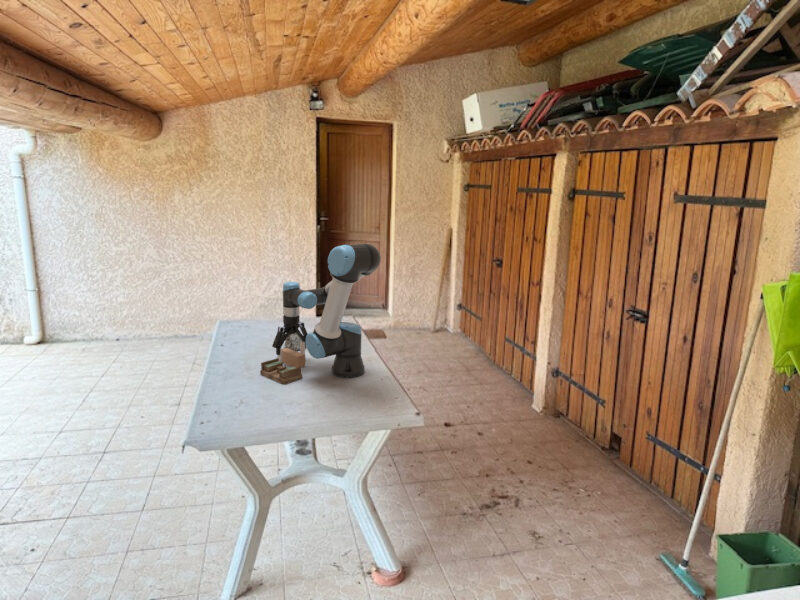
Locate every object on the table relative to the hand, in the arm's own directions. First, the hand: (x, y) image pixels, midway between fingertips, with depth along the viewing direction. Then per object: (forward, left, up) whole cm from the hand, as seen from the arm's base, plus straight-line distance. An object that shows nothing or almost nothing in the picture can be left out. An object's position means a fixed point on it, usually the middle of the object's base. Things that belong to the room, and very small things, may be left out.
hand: (291, 357), depth 245 cm
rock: (+18, -16, -3) cm, 24 cm away
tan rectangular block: (0, 0, -3) cm, 3 cm away
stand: (-10, +14, -3) cm, 18 cm away
